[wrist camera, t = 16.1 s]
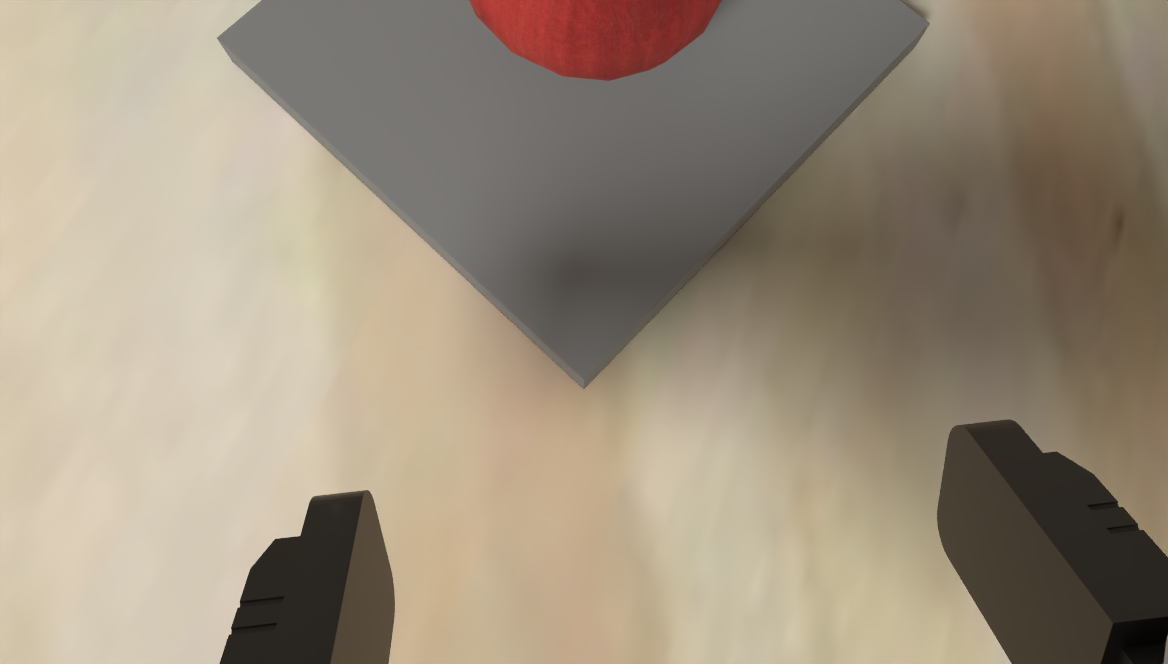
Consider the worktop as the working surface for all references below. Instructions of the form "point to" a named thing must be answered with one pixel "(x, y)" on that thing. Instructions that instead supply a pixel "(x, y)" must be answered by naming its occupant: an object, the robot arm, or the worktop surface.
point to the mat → (570, 142)
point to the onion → (596, 32)
